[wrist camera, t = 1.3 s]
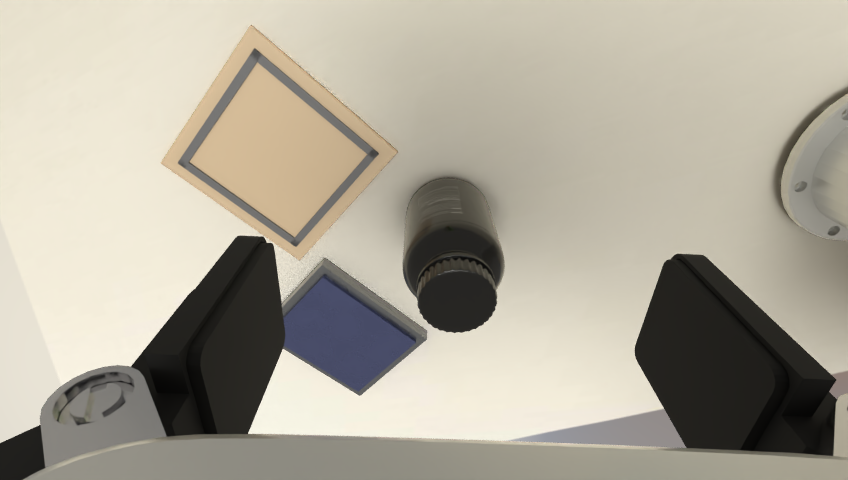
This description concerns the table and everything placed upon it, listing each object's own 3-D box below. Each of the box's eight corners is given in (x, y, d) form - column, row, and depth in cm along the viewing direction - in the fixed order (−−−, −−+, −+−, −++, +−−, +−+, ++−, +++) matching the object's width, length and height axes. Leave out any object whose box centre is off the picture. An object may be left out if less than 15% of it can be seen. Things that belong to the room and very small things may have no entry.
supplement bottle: (397, 239, 38) (385, 331, 28) (419, 165, 35) (416, 237, 25) (473, 259, 39) (490, 356, 29) (502, 189, 36) (533, 269, 25)
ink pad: (426, 330, 43) (426, 342, 42) (361, 386, 47) (359, 398, 45) (324, 257, 39) (320, 267, 38) (262, 324, 43) (256, 335, 41)
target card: (397, 151, 35) (397, 153, 34) (300, 258, 39) (299, 261, 39) (251, 25, 30) (249, 25, 30) (162, 161, 35) (159, 164, 35)
